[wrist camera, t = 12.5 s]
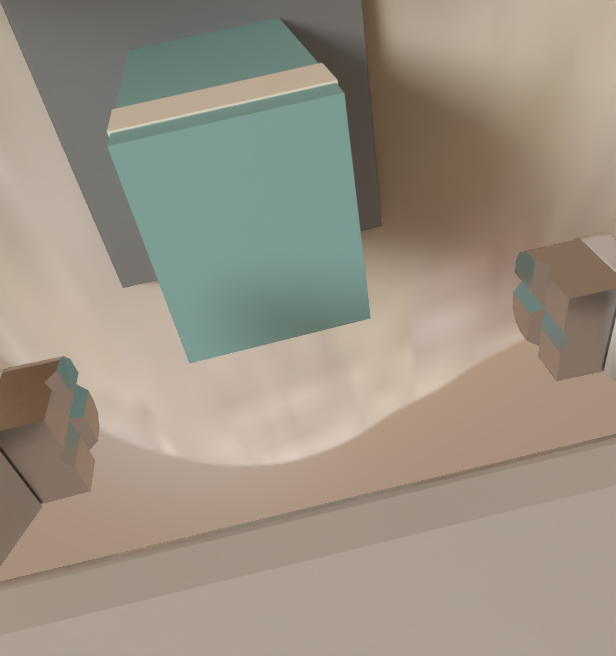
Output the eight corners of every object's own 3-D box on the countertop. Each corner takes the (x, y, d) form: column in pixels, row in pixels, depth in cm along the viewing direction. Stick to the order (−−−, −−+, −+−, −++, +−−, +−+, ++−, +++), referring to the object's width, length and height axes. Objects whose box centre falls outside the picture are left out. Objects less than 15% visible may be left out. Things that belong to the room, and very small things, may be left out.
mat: (346, -92, 19) (352, -92, 18) (376, 217, 25) (381, 225, 25) (-2, -20, 18) (-8, -17, 17) (124, 277, 25) (123, 288, 24)
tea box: (279, 15, 19) (345, 89, 12) (309, 186, 23) (372, 319, 16) (126, 48, 19) (103, 144, 12) (180, 216, 23) (188, 365, 16)
